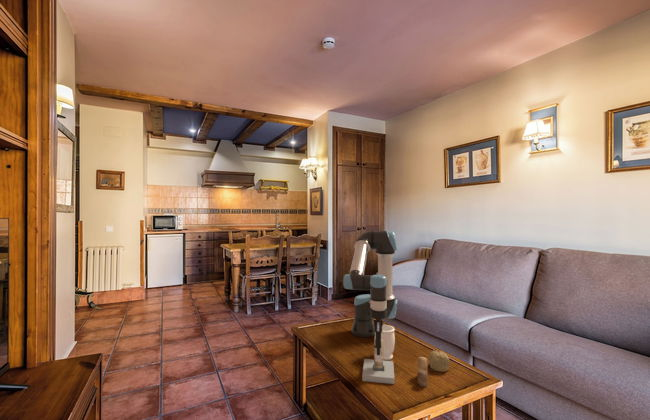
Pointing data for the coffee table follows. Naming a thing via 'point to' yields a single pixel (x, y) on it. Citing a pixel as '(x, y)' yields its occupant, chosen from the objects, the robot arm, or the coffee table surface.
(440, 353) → the decorative object
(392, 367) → the hole plate
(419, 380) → the walnut pin
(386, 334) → the jar
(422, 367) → the oak pin
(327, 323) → the coffee table surface
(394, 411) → the coffee table surface
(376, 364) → the birch pin
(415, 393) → the coffee table surface
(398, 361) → the coffee table surface
